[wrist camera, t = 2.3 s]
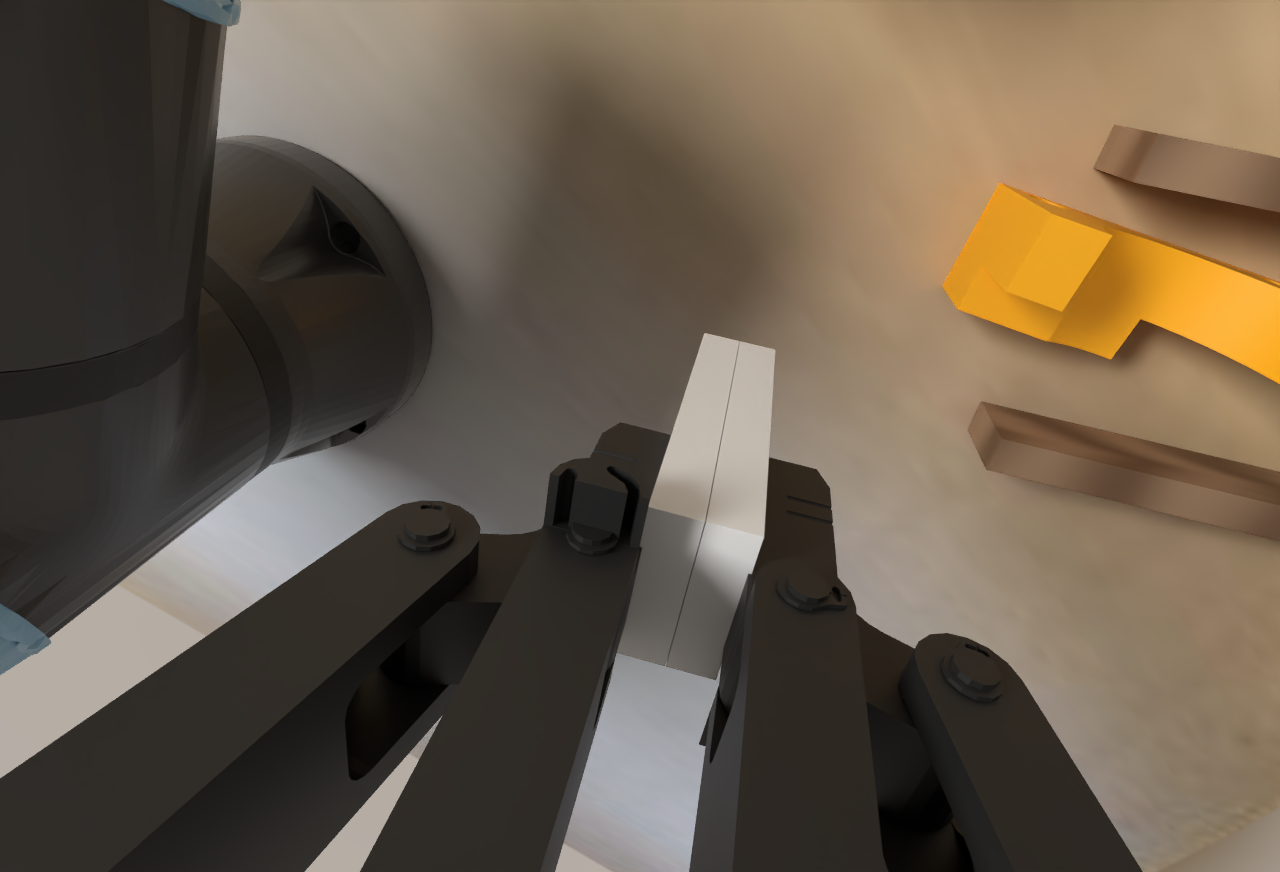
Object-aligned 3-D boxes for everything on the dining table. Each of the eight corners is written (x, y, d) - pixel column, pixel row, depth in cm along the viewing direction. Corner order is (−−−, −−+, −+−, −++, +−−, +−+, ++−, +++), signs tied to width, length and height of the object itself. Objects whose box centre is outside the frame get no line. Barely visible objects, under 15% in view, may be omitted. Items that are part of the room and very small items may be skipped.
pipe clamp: (941, 285, 29) (976, 339, 23) (998, 182, 27) (1052, 214, 21) (1214, 383, 29) (1315, 461, 23) (1294, 287, 26) (1428, 348, 21)
